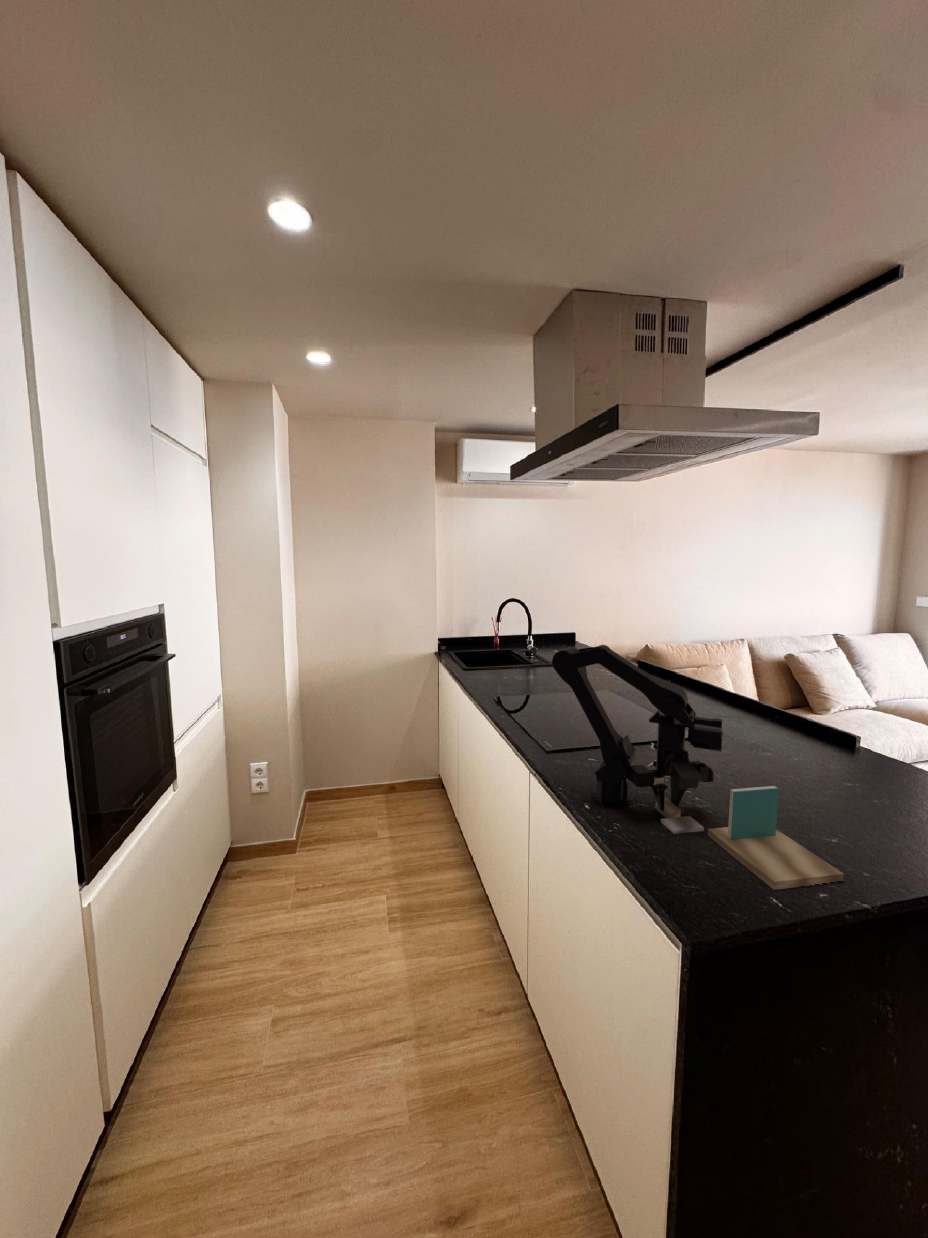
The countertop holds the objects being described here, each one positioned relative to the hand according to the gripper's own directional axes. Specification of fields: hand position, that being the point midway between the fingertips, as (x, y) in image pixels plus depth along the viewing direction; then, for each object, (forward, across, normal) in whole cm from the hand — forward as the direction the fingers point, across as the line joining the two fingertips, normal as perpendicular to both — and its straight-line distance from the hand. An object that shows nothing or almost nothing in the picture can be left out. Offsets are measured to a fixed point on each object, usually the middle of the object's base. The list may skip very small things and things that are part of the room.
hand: (667, 809), depth 115 cm
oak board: (+1, +10, -19) cm, 21 cm away
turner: (+1, 0, -2) cm, 3 cm away
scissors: (+2, +18, +32) cm, 37 cm away
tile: (-6, +10, -14) cm, 18 cm away
